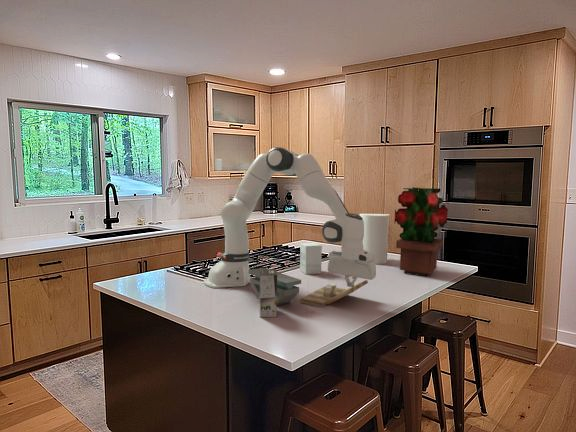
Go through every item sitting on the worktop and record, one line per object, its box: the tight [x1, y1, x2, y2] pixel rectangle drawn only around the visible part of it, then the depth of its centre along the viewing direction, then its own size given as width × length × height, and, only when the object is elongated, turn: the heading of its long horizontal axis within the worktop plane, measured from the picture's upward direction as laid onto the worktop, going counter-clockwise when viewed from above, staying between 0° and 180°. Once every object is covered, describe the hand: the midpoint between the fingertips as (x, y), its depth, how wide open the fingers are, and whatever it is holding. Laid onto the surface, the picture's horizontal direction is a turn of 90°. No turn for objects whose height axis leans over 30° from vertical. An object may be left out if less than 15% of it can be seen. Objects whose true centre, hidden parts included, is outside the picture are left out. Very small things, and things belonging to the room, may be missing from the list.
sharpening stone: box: [249, 267, 302, 306], centre depth 182 cm, size 25×8×11 cm, turn 40°
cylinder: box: [358, 213, 390, 265], centre depth 260 cm, size 17×17×28 cm
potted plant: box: [393, 186, 449, 277], centre depth 233 cm, size 22×22×45 cm
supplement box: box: [299, 242, 323, 275], centre depth 230 cm, size 9×9×15 cm
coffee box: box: [259, 268, 278, 318], centre depth 166 cm, size 9×6×16 cm
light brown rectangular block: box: [299, 283, 347, 308], centre depth 188 cm, size 24×10×6 cm, turn 149°
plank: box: [326, 279, 369, 305], centre depth 183 cm, size 18×12×1 cm
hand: (350, 286), depth 182 cm, fingers closed
